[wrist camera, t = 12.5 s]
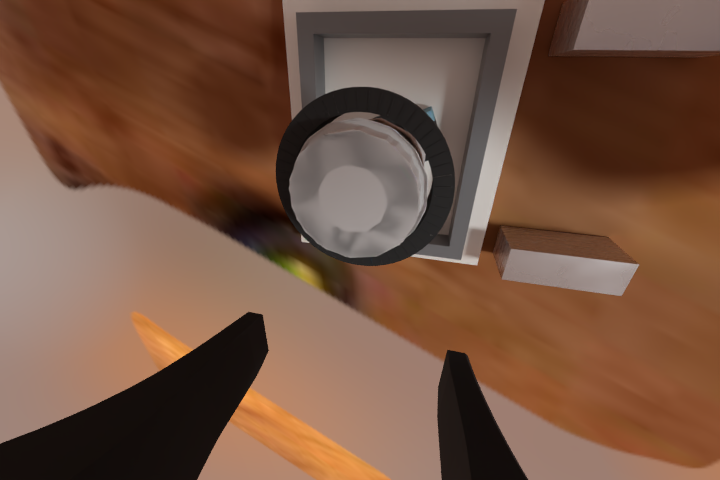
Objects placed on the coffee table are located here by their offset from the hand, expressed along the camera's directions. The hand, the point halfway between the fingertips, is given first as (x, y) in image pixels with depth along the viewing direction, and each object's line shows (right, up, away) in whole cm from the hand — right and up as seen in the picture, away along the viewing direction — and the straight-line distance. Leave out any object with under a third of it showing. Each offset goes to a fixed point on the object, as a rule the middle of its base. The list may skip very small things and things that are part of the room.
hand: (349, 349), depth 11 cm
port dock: (+2, +10, +6) cm, 12 cm away
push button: (+2, +10, +6) cm, 11 cm away
